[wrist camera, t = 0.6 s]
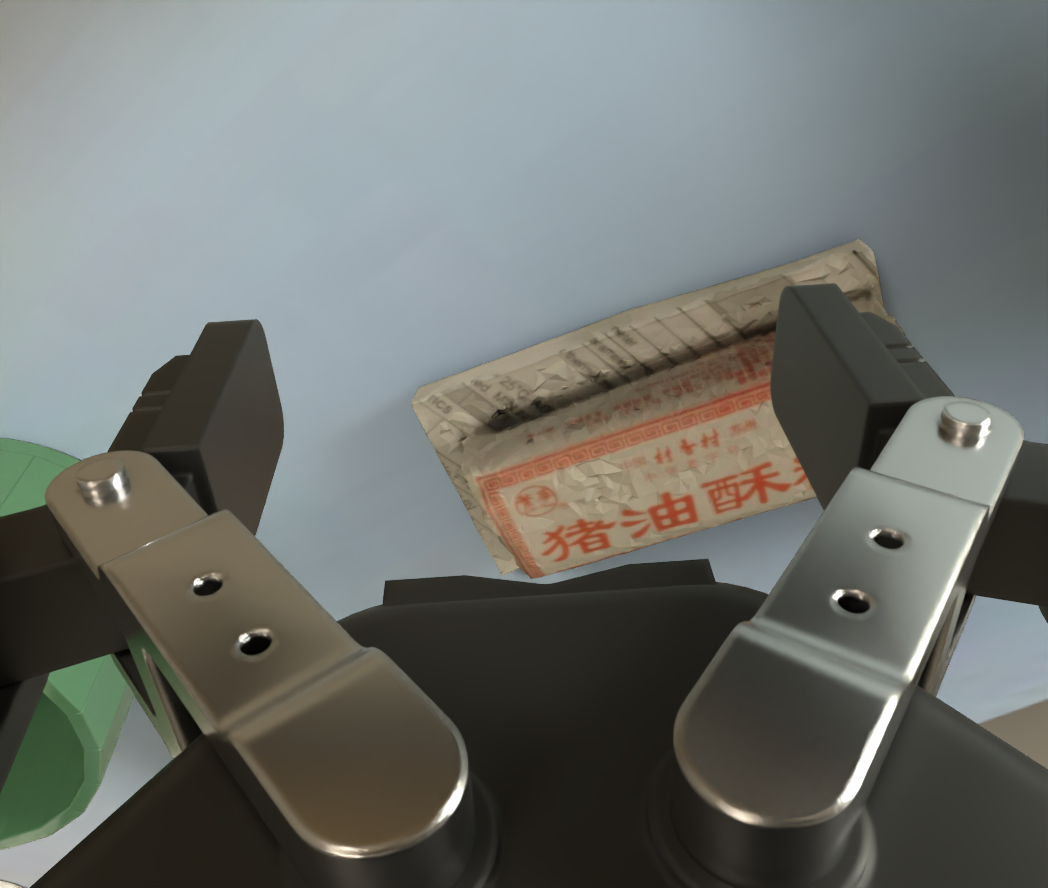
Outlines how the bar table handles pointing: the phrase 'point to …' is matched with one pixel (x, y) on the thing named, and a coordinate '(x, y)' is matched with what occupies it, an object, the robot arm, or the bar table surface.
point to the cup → (57, 695)
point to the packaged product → (632, 422)
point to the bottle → (8, 885)
